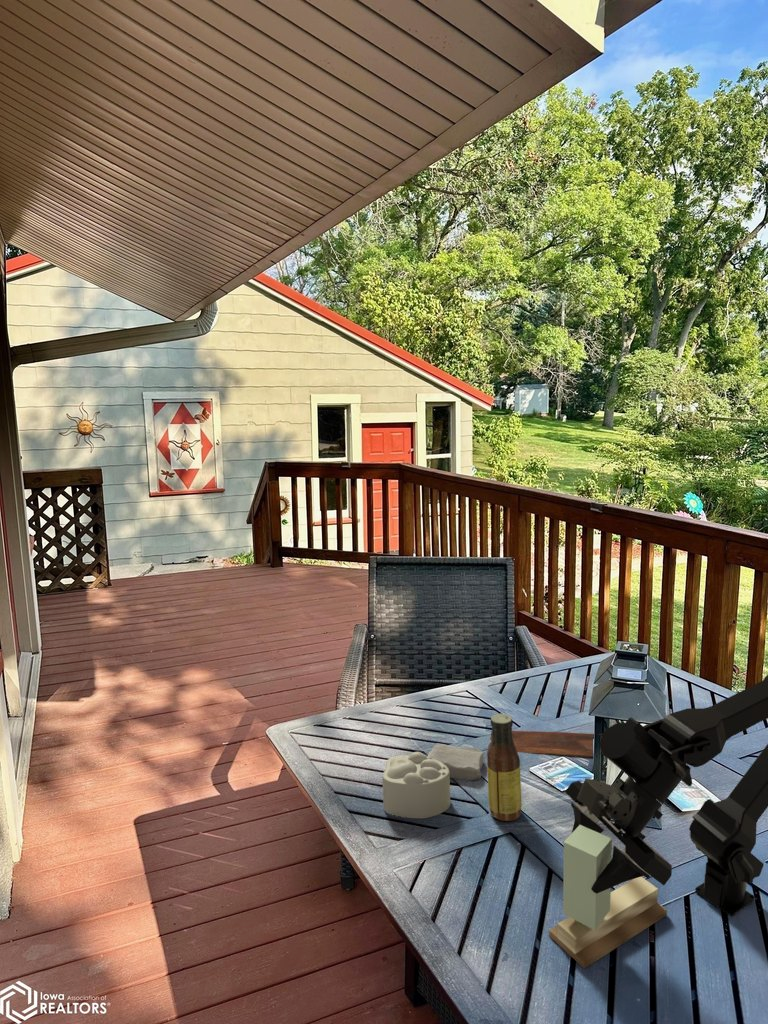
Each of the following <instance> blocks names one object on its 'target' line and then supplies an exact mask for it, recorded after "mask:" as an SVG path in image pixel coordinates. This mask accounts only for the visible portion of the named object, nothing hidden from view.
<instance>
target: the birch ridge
mask: <svg viewBox="0 0 768 1024" xmlns="http://www.w3.org/2000/svg"><path fill="white" fill-rule="evenodd" d="M658 894H659V888H658V887H657V886H655V885H653V884H652V883H651V882H650V881H648V880H646V879H645V877H643V876H642V877H638V878H635V879H632V880H629V881H627V882H626V883H623V885H621V886H619V887H617V888H615V889H614V890H613V891H611V896H610V911H609V912H608V914H607V915H606V916H605V918H604V919H603V920H602V922H601V923H600V924H599V926H598V927H597V929H596V930H593V929H591V928H589V927H587V926H586V925H584V924H582V923H580V922H578V921H576V920H574V919H572V918H571V917H569V916H567V918H565V919H562V920H561V921H559V922H558V923H557V925H555V926H554V927H552V928H550V929H549V930H548V936H549V938H551V940H553V942H555V943H556V944H557V945H558V946H560V947H561V948H562V949H563V950H564V952H566V953H567V954H568V955H569V956H570V957H571V958H572V959H574V960H575V962H577V963H578V964H579V965H580V967H582V968H583V969H586V968H588V967H589V966H590V965H593V964H594V963H596V962H597V961H598V960H600V959H601V958H603V957H604V956H606V955H608V954H609V953H611V952H612V951H614V950H616V949H617V948H618V947H620V946H622V945H623V944H625V943H626V942H628V941H629V940H631V939H632V938H634V937H635V936H636V935H638V934H640V933H641V932H643V931H644V930H646V929H648V928H650V927H651V926H652V925H654V924H655V923H657V922H659V921H660V920H661V919H663V918H665V917H666V916H667V914H668V910H667V909H666V908H665V906H663V905H661V904H660V903H658V897H659V896H658Z"/></svg>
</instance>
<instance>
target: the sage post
mask: <svg viewBox="0 0 768 1024" xmlns="http://www.w3.org/2000/svg"><path fill="white" fill-rule="evenodd" d="M571 833H572V832H571ZM571 833H570V835H569V836H568V837H567V838H566V839H565V840H564V841H563V886H562V887H563V895H562V896H563V898H562V900H563V901H562V902H563V905H562V906H563V907H562V912H563V913H562V914H563V915H565V916H567V917H571V918H572V919H574V920H576V921H578V922H580V923H582V924H584V925H586V926H587V927H589V928H591V929H593V930H596V929H597V927H598V926H599V924H600V923H601V922H602V920H603V919H604V918H605V916H606V915H607V914H608V912H609V911H610V896H611V892H612V891H611V890H612V889H611V888H612V887H611V888H609V889H607V890H604V891H602V892H600V893H597V894H596V893H594V892H593V891H592V890H591V888H592V886H593V884H594V883H595V881H596V880H597V878H598V877H599V875H600V874H601V873H602V871H603V870H604V869H605V867H606V866H607V865H608V864H609V862H610V861H611V859H612V855H613V847H612V843H613V838H612V837H610V836H608V835H605V834H602V833H601V834H600V833H598V832H596V831H593V830H591V829H589V828H586V827H584V826H582V825H579V826H578V827H577V828H576V829H575V831H574V832H573V833H572V834H571Z"/></svg>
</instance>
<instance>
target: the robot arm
mask: <svg viewBox="0 0 768 1024" xmlns="http://www.w3.org/2000/svg"><path fill="white" fill-rule="evenodd" d="M767 719H768V674H767V675H765V677H764V679H763V680H761V681H759V682H757V683H755V684H753V685H750V686H749V687H748V688H745V689H743V690H741V691H739V692H737V693H735V694H733V695H731V696H729V697H727V698H724V699H723V700H720V701H719V702H716V703H714V704H713V705H710V706H707V707H705V708H703V707H702V708H695V707H694V708H693V707H691V708H684V709H681V710H678V711H675V712H672V713H669V714H667V715H666V716H664V717H663V718H662V719H659V720H656V721H653V722H651V723H648V724H645V725H643V724H641V723H640V722H639V721H638V720H636V719H634V718H633V717H628V719H627V720H626V721H625V722H618V723H615V724H612V725H610V726H609V727H606V728H605V729H604V732H603V733H601V735H602V736H601V739H600V750H601V752H602V754H603V755H604V756H605V757H606V758H605V759H608V760H609V761H610V762H611V763H613V764H614V765H615V766H616V767H617V768H618V769H619V770H621V772H623V773H624V774H626V775H627V776H628V777H627V778H626V779H625V781H624V780H623V779H622V778H620V777H618V779H615V780H614V782H613V783H612V784H608V783H606V782H603V781H599V780H595V779H591V778H585V779H584V781H583V782H581V781H580V780H577V781H572V782H571V783H570V785H569V786H568V787H567V788H566V790H565V791H564V793H565V794H566V795H567V796H568V797H570V799H571V800H572V801H573V802H571V804H570V806H571V808H572V810H573V815H574V821H573V822H574V823H573V826H572V831H571V833H570V835H571V834H572V833H573V832H574V831H575V829H576V828H577V827H578V826H579V825H582V826H584V827H586V828H589V829H591V830H593V831H596V832H598V833H600V834H602V833H603V832H604V831H605V829H604V828H603V827H602V826H601V825H600V824H599V822H600V823H602V824H603V825H604V826H605V827H606V828H607V829H608V830H609V831H610V832H611V833H612V834H613V836H615V837H616V838H617V840H619V841H620V842H621V843H622V844H623V845H624V847H625V848H624V850H623V851H622V850H621V849H620V848H618V847H617V846H616V845H613V847H612V856H611V861H610V862H609V864H608V865H607V866H606V867H605V869H604V870H603V871H602V873H601V874H600V875H599V877H598V878H597V880H596V881H595V883H594V884H593V886H592V888H591V890H592V891H593V892H594V893H596V894H597V893H600V892H602V891H604V890H607V889H609V888H613V887H616V886H618V885H620V884H622V883H623V884H624V883H625V882H626V883H627V882H629V881H631V880H633V879H635V878H638V877H642V878H643V877H644V878H646V879H650V878H651V877H652V878H654V879H655V880H656V881H657V882H658V883H660V884H661V885H662V886H665V885H666V883H667V882H668V881H669V880H670V878H671V877H672V873H673V872H672V871H673V869H672V868H673V865H672V864H670V863H669V862H668V861H667V860H666V858H664V857H663V856H662V854H660V853H659V852H658V851H657V850H656V849H654V848H653V847H652V846H650V845H649V844H648V843H647V842H646V841H644V840H645V839H646V836H645V835H644V834H643V833H642V832H643V831H644V829H645V828H646V827H647V825H649V822H650V821H651V820H653V817H654V818H655V819H657V821H658V820H661V818H662V817H663V815H664V814H663V813H662V812H661V811H660V808H661V807H662V806H663V804H665V802H666V801H667V800H668V798H669V797H670V796H671V794H673V792H674V791H675V789H676V788H677V786H678V785H680V783H681V782H682V783H683V784H684V785H687V786H688V787H691V786H692V785H693V779H692V776H691V775H692V774H691V770H692V769H691V767H693V768H698V767H699V768H700V767H702V766H704V765H706V764H707V763H708V762H710V761H711V760H713V759H714V758H716V757H717V756H718V755H720V754H721V753H722V752H723V749H724V746H725V745H726V742H727V741H728V740H729V739H731V738H732V737H734V736H735V735H738V734H740V733H742V732H744V731H745V730H748V729H749V728H752V727H753V726H755V725H757V724H759V723H761V722H763V721H765V720H767ZM690 766H691V767H690ZM574 802H575V803H574ZM767 808H768V743H767V744H766V745H765V746H764V748H763V749H762V751H761V752H760V754H759V755H758V756H757V757H756V759H755V760H754V761H753V763H752V764H751V765H750V767H749V768H748V770H746V772H745V773H744V775H743V776H742V777H741V779H740V780H739V781H738V783H737V784H736V785H735V787H734V788H733V789H732V791H731V792H730V794H729V795H727V797H726V798H725V799H722V800H718V801H715V802H714V801H713V800H712V799H710V798H709V799H707V800H705V801H704V802H703V804H702V805H701V807H700V809H699V810H698V811H697V812H696V813H695V814H694V815H692V817H691V818H692V819H693V820H692V821H691V823H690V825H689V829H688V830H689V837H690V841H691V842H692V843H693V844H694V846H695V847H696V849H697V851H699V852H700V853H702V854H703V855H704V856H706V858H707V859H706V862H705V870H704V871H705V873H704V880H703V881H704V882H702V883H701V884H700V885H698V886H696V887H695V888H694V890H695V892H696V894H698V895H699V896H701V898H703V899H705V900H706V901H708V902H709V903H710V904H712V905H713V906H715V907H716V908H718V909H719V910H721V911H722V912H724V913H726V914H727V915H728V916H731V917H733V916H735V915H736V914H738V913H739V912H740V911H742V910H744V909H746V907H748V906H749V905H751V904H752V903H753V902H755V900H756V897H755V895H753V894H752V893H750V892H749V891H747V884H752V883H754V880H755V878H758V877H760V875H761V874H762V871H763V867H764V863H763V862H762V861H761V860H760V859H759V858H757V857H756V856H755V855H754V854H753V853H752V851H753V849H754V848H755V846H756V844H757V826H758V825H757V824H758V823H757V822H758V821H759V820H760V818H761V817H762V815H763V814H764V813H765V811H766V810H767ZM611 820H613V821H614V822H613V821H611Z"/></svg>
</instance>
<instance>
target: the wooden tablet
mask: <svg viewBox="0 0 768 1024" xmlns="http://www.w3.org/2000/svg"><path fill="white" fill-rule="evenodd" d="M594 734H595V733H584V732H570V731H569V732H566V731H564V732H563V731H543V730H542V731H541V730H540V731H539V730H537V731H536V730H535V731H534V730H530V731H529V730H512V737H513V741H514V744H515V747H516V750H517V753H523V754H540V755H541V754H542V755H559V756H569V757H578V758H579V757H580V758H588V759H589V758H590V759H591V758H592V757H593V739H594ZM489 739H490V742H491V741H492V732H491V734H490V737H489Z"/></svg>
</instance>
